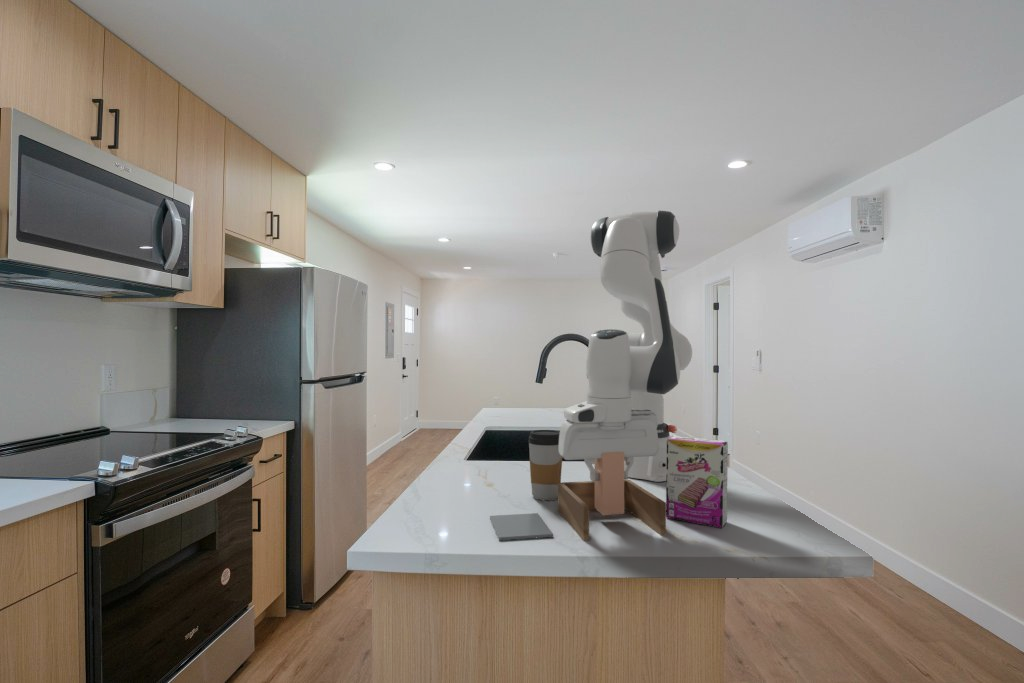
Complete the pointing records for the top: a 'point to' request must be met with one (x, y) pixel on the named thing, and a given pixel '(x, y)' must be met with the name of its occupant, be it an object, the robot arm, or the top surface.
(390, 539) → the top surface
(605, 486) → the terracotta block
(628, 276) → the robot arm
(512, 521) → the slate coaster
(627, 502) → the walnut bay
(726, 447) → the candy bar box
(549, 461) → the coffee cup
